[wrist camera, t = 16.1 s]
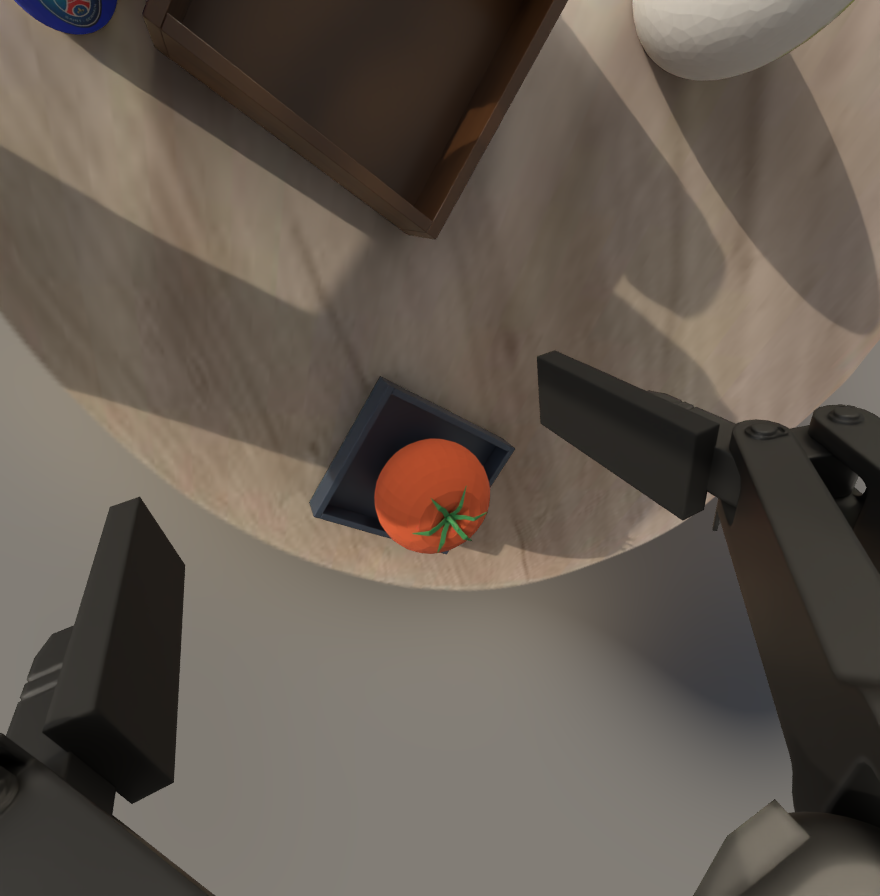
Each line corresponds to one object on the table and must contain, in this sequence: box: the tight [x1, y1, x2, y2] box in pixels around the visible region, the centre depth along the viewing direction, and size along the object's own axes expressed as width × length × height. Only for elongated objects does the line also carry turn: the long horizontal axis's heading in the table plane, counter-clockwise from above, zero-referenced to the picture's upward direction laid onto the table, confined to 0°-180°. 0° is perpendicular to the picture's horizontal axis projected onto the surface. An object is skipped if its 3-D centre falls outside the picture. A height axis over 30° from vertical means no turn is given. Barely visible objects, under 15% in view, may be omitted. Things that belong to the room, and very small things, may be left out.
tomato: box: [374, 439, 490, 554], centre depth 40 cm, size 10×10×10 cm
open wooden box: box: [142, 0, 568, 240], centre depth 27 cm, size 18×18×5 cm
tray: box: [309, 376, 515, 554], centre depth 44 cm, size 15×13×2 cm
